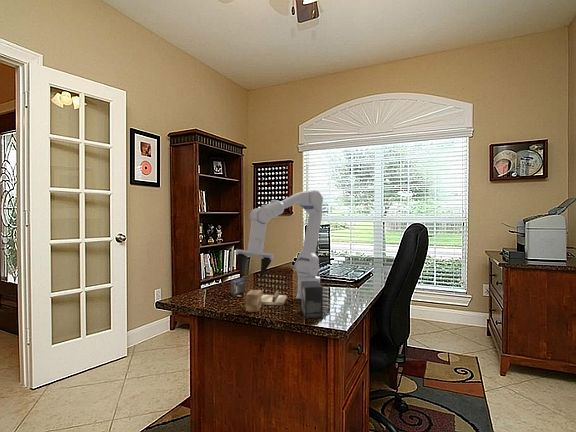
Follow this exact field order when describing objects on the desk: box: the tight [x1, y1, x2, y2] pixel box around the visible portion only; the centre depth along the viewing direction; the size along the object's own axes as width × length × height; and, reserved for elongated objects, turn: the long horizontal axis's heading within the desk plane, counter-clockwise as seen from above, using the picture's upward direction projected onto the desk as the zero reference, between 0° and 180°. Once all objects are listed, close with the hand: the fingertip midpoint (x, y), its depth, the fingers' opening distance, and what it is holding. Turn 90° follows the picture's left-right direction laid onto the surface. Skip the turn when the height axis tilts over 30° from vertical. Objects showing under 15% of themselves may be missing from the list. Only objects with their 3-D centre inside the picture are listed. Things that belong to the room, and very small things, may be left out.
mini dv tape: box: [230, 277, 246, 296], centre depth 150 cm, size 8×2×6 cm, turn 152°
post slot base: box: [261, 290, 288, 306], centre depth 137 cm, size 14×12×3 cm
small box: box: [300, 281, 324, 319], centre depth 119 cm, size 11×6×10 cm, turn 5°
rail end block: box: [245, 289, 262, 313], centre depth 125 cm, size 4×8×6 cm, turn 174°
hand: (251, 276), depth 127 cm, fingers open, 7 cm apart
